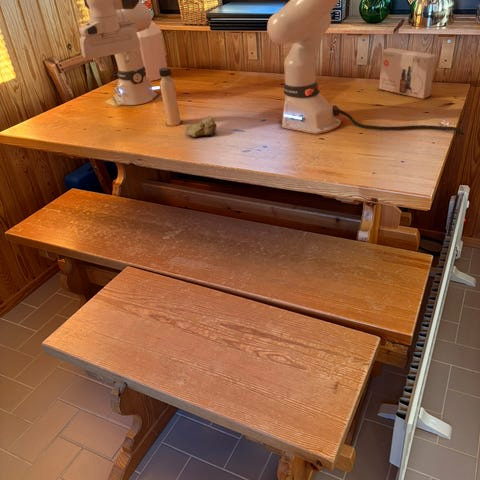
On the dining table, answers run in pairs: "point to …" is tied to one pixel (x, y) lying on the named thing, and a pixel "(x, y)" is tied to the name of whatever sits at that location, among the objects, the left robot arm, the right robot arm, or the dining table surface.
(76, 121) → the dining table surface
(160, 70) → the cap
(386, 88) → the skincare box
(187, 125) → the rock
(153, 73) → the container
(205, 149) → the dining table surface
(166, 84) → the bottle
